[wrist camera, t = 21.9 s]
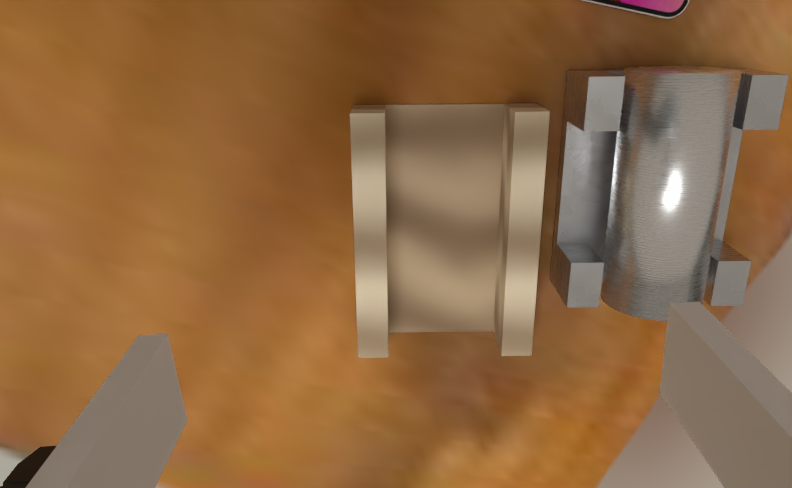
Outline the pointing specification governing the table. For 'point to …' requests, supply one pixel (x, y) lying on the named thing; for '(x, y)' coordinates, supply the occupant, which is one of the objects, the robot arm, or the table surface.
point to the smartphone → (647, 6)
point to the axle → (667, 186)
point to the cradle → (592, 178)
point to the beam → (447, 220)
